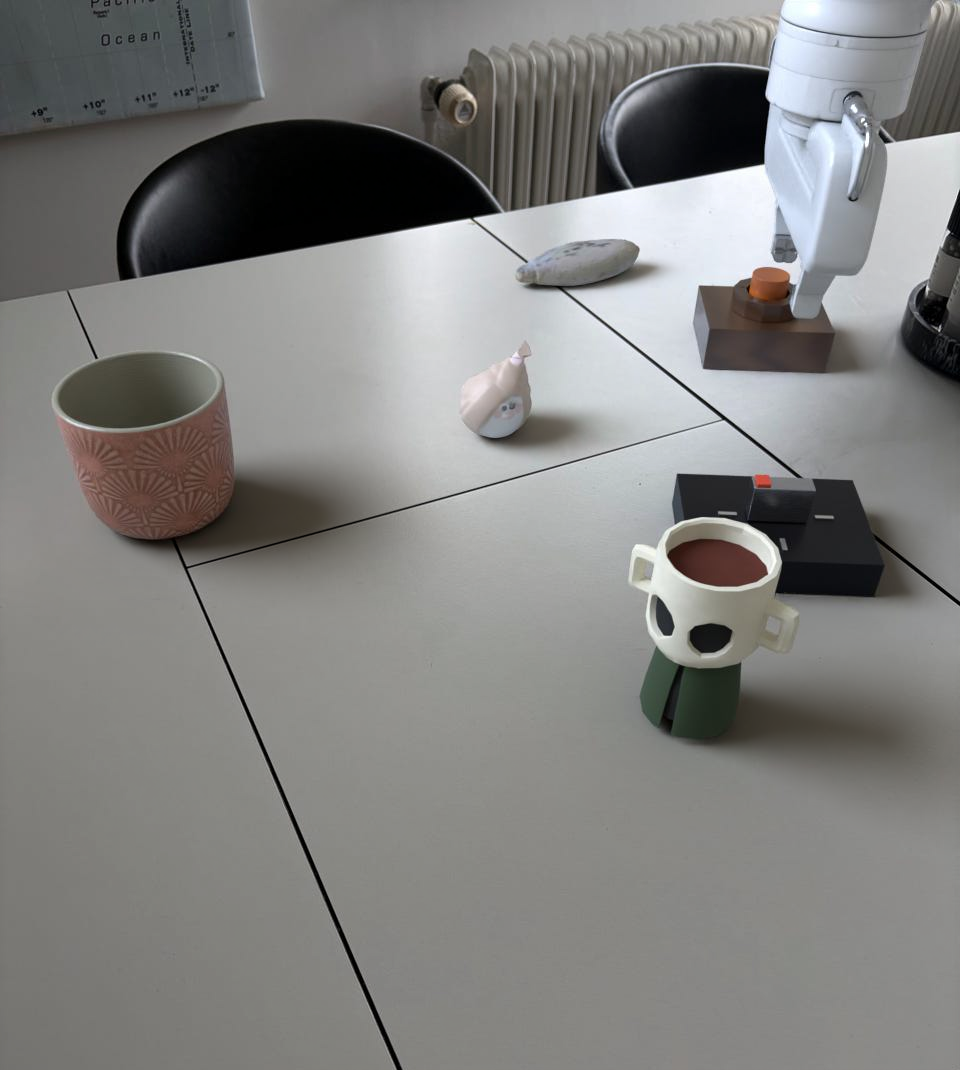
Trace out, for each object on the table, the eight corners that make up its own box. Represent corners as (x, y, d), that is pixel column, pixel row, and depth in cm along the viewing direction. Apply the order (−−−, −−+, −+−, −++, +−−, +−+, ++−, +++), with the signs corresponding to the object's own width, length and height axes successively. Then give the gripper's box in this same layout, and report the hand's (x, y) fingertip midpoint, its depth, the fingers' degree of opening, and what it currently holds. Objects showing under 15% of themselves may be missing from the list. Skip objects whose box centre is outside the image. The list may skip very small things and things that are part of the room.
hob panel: (843, 510, 85) (853, 478, 83) (874, 597, 77) (886, 563, 75) (671, 504, 85) (677, 471, 83) (684, 589, 77) (690, 555, 75)
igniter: (806, 327, 110) (820, 271, 106) (825, 373, 102) (840, 315, 98) (692, 323, 110) (701, 267, 106) (702, 368, 103) (712, 311, 99)
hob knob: (803, 511, 80) (813, 475, 77) (807, 523, 78) (817, 487, 76) (744, 508, 80) (752, 473, 78) (747, 521, 79) (755, 485, 76)
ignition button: (782, 287, 104) (787, 267, 102) (788, 303, 101) (793, 282, 100) (746, 286, 104) (750, 266, 102) (751, 301, 101) (755, 281, 100)
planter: (276, 498, 85) (258, 377, 78) (163, 576, 78) (131, 450, 70) (170, 451, 90) (144, 333, 83) (54, 519, 83) (14, 396, 75)
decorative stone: (504, 278, 118) (505, 248, 116) (621, 255, 123) (623, 226, 121) (529, 299, 114) (531, 269, 112) (649, 275, 119) (652, 245, 117)
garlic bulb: (532, 450, 91) (536, 366, 86) (459, 449, 91) (459, 366, 86) (528, 411, 96) (532, 330, 91) (459, 411, 96) (459, 329, 91)
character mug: (587, 704, 68) (605, 546, 60) (642, 646, 73) (666, 491, 64) (737, 782, 64) (781, 623, 55) (786, 715, 68) (834, 557, 59)
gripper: (933, 125, 58) (865, 355, 67) (859, 37, 73) (812, 234, 82) (819, 120, 58) (767, 350, 67) (768, 33, 73) (732, 230, 82)
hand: (791, 285), depth 75 cm, fingers open, 8 cm apart
